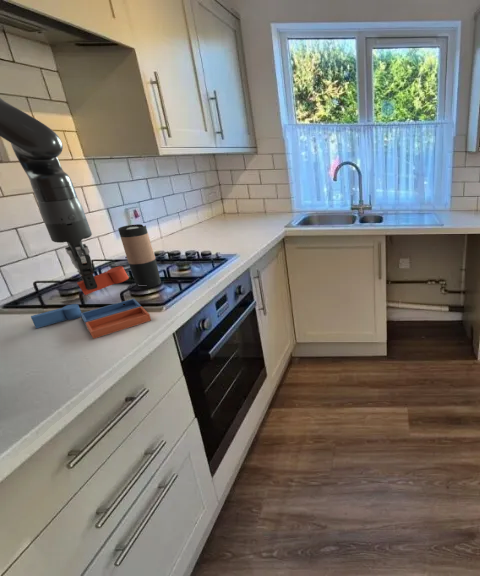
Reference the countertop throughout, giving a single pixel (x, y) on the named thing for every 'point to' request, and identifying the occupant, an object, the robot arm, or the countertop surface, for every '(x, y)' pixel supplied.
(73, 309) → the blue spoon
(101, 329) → the terracotta tray
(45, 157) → the robot arm
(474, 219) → the countertop surface
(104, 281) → the orange elongated piece
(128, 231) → the travel mug
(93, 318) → the blue tray
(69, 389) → the countertop surface
